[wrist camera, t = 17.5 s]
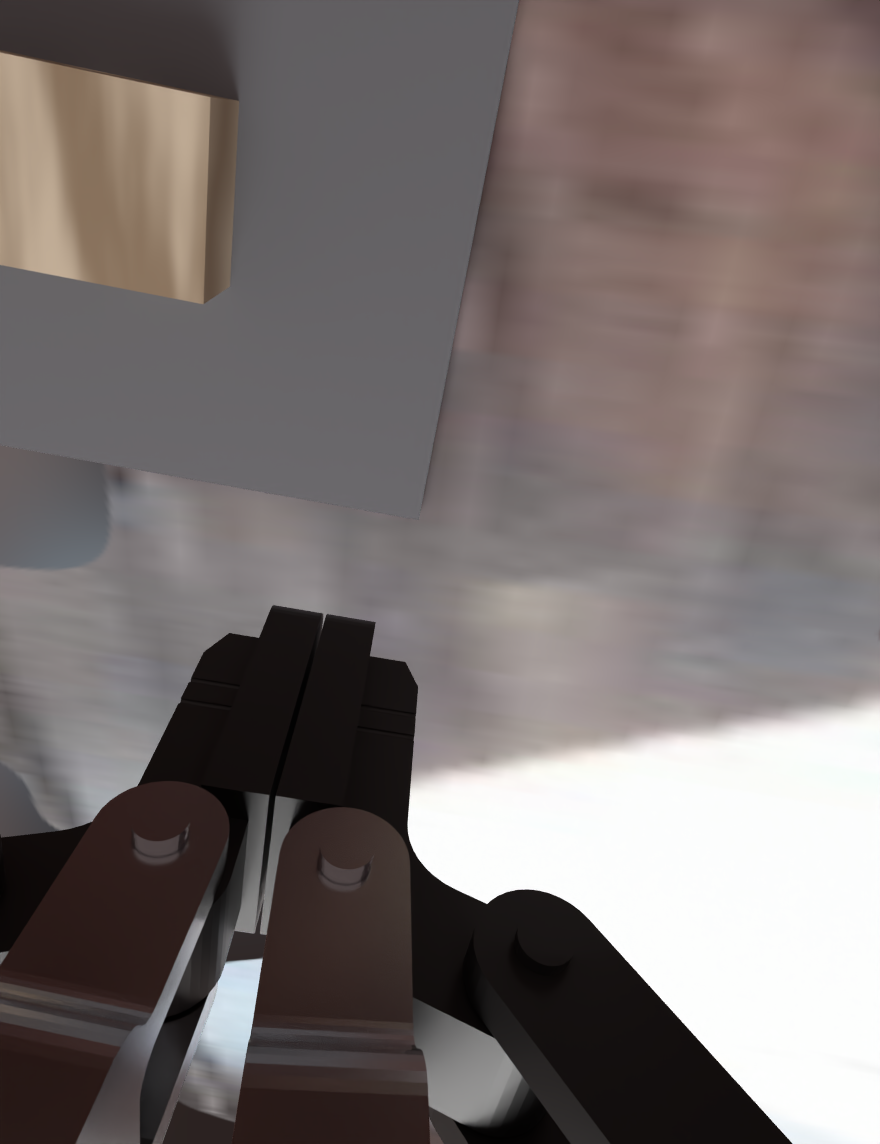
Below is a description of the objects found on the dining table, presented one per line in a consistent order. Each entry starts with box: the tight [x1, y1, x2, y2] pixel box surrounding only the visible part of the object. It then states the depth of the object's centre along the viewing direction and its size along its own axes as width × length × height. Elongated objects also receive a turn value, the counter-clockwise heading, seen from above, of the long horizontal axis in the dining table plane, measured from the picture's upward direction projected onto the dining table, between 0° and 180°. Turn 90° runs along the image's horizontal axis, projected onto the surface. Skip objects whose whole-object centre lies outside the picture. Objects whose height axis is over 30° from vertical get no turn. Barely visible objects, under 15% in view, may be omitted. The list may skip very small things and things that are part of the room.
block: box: [0, 50, 239, 304], centre depth 30 cm, size 4×7×11 cm
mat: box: [0, 0, 519, 520], centre depth 32 cm, size 22×26×1 cm
